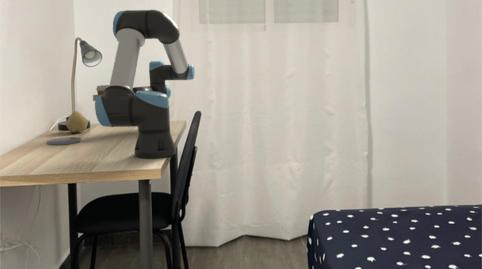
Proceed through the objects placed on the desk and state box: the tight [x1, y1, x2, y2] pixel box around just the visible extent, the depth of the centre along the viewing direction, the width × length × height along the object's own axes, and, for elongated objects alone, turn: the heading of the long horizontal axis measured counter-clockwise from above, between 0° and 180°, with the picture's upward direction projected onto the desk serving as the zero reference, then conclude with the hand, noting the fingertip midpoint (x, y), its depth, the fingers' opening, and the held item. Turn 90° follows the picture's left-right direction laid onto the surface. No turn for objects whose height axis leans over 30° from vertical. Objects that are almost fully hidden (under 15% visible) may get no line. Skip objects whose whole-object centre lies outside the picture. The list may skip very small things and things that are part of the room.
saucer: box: [46, 136, 82, 146], centre depth 203 cm, size 14×14×1 cm
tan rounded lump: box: [65, 110, 89, 134], centre depth 227 cm, size 10×12×11 cm
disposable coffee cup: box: [96, 84, 110, 96], centre depth 212 cm, size 10×10×12 cm
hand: (98, 98), depth 209 cm, fingers closed on disposable coffee cup, 8 cm apart
